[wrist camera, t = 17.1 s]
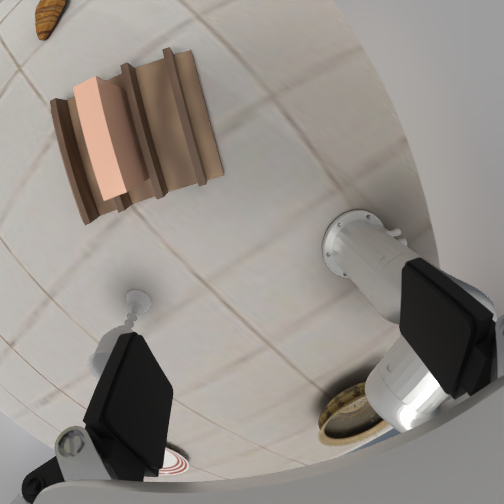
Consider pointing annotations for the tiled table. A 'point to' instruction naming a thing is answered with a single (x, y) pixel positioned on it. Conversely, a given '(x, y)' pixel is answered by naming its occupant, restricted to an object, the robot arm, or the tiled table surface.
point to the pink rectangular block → (110, 136)
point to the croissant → (47, 16)
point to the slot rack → (146, 135)
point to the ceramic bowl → (349, 418)
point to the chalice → (118, 331)
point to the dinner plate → (173, 463)
